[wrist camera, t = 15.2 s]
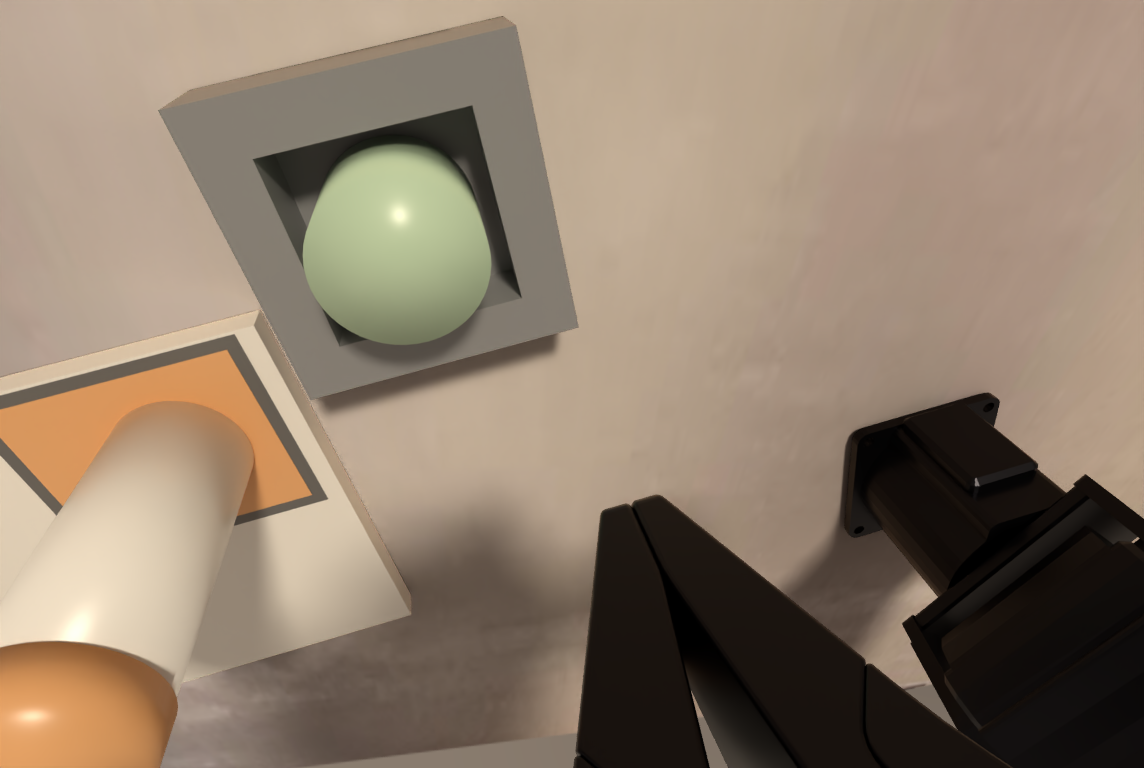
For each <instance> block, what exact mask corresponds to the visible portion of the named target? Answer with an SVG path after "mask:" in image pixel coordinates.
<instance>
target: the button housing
mask: <svg viewBox="0 0 1144 768" xmlns="http://www.w3.org/2000/svg"><path fill="white" fill-rule="evenodd" d="M158 111H159V113H160V115H161V117H162V119H163V121H164V123H165V125H166V126H167V128H168V130H169V132H170V134H171V136H172V138H173V140H174V142H175V144H176V145H177V147H178V149H179V151H180V153H181V155H182V157H183V159H184V161H185V163H186V164H187V166H188V168H189V170H190V172H191V174H192V176H193V178H194V180H195V182H196V183H197V185H198V187H199V189H200V191H201V193H202V195H203V197H204V199H205V201H206V202H207V204H208V206H209V208H210V210H211V212H212V214H213V216H214V218H215V220H216V221H217V223H218V225H219V227H220V229H221V231H222V233H223V235H224V237H225V239H226V240H227V242H228V244H229V246H230V248H231V250H232V252H233V254H234V256H235V258H236V259H237V261H238V263H239V265H240V267H241V269H242V271H243V273H244V275H245V277H246V278H247V280H248V282H249V284H250V286H251V288H252V290H253V292H254V294H255V296H256V297H257V299H258V301H259V303H260V305H261V307H262V309H263V311H264V313H265V315H266V316H267V318H268V320H269V322H270V324H271V326H272V328H273V330H274V332H275V334H276V335H277V337H278V339H279V341H280V343H281V345H282V347H283V349H284V351H285V353H286V354H287V356H288V358H289V360H290V362H291V364H292V366H293V368H294V370H295V372H296V373H297V375H298V377H299V379H300V381H301V383H302V385H303V387H304V389H305V390H306V392H307V394H308V396H309V398H310V400H313V399H317V398H320V397H324V396H328V395H331V394H335V393H339V392H342V391H346V390H350V389H353V388H357V387H361V386H365V385H368V384H372V383H376V382H379V381H383V380H387V379H390V378H394V377H398V376H401V375H405V374H409V373H412V372H416V371H420V370H423V369H427V368H431V367H434V366H438V365H442V364H446V363H449V362H453V361H457V360H460V359H464V358H468V357H471V356H475V355H479V354H482V353H486V352H490V351H493V350H497V349H501V348H504V347H508V346H512V345H515V344H519V343H523V342H527V341H530V340H534V339H538V338H541V337H545V336H549V335H552V334H556V333H560V332H563V331H567V330H571V329H574V328H578V322H577V317H576V312H575V307H574V303H573V298H572V293H571V288H570V283H569V278H568V274H567V269H566V264H565V259H564V254H563V249H562V245H561V240H560V235H559V230H558V225H557V220H556V216H555V211H554V206H553V201H552V196H551V191H550V187H549V182H548V177H547V172H546V167H545V162H544V158H543V153H542V148H541V143H540V138H539V133H538V129H537V124H536V119H535V114H534V109H533V104H532V100H531V95H530V90H529V85H528V80H527V75H526V71H525V66H524V61H523V56H522V51H521V46H520V42H519V37H518V32H517V27H516V25H515V24H514V23H512V22H511V21H509V20H508V19H506V18H505V17H503V16H501V17H497V18H492V19H488V20H484V21H480V22H475V23H471V24H467V25H463V26H459V27H454V28H450V29H446V30H442V31H437V32H433V33H429V34H425V35H420V36H416V37H412V38H408V39H404V40H399V41H395V42H391V43H387V44H382V45H378V46H374V47H370V48H366V49H361V50H357V51H353V52H349V53H344V54H340V55H336V56H332V57H327V58H323V59H319V60H315V61H311V62H306V63H302V64H298V65H294V66H289V67H285V68H281V69H277V70H272V71H268V72H264V73H260V74H256V75H251V76H247V77H243V78H239V79H234V80H230V81H226V82H222V83H218V84H213V85H209V86H205V87H201V88H196V89H192V90H189V91H187V92H186V93H184V94H183V95H181V96H180V97H178V98H177V99H175V100H173V101H172V102H170V103H169V104H167V105H166V106H164V107H163V108H161V109H160V110H158ZM384 135H402V136H409V137H414V138H418V139H421V140H423V141H426V142H428V143H430V144H432V145H434V146H436V147H438V148H439V149H441V150H442V151H444V152H445V153H447V154H448V155H449V156H450V157H451V158H452V159H453V160H455V162H456V163H457V164H458V165H459V166H460V167H461V168H462V170H463V171H464V173H465V174H466V176H467V178H468V180H469V182H470V184H471V186H472V188H473V191H474V194H475V197H476V201H477V204H478V208H479V211H480V215H481V218H482V222H483V226H484V229H485V233H486V236H487V240H488V244H489V249H490V253H491V274H490V280H489V284H488V287H487V290H486V293H485V295H484V297H483V299H482V301H481V303H480V305H479V306H478V308H477V309H476V310H475V312H474V313H473V314H472V315H471V316H470V317H469V318H468V319H467V321H465V322H464V323H463V324H462V325H461V326H459V327H458V328H457V329H455V330H453V331H452V332H450V333H449V334H446V335H444V336H442V337H440V338H438V339H435V340H432V341H429V342H424V343H419V344H411V345H393V344H385V343H380V342H376V341H372V340H369V339H366V338H363V337H361V336H359V335H357V334H355V333H353V332H351V331H349V330H347V329H346V328H344V327H343V326H341V325H340V324H339V323H337V322H336V321H335V320H334V319H333V318H331V317H330V316H329V315H328V314H327V312H326V311H325V310H324V309H323V308H322V307H321V305H320V304H319V303H318V301H317V300H316V298H315V297H314V295H313V293H312V291H311V289H310V287H309V284H308V282H307V279H306V275H305V271H304V266H303V243H304V239H305V235H306V231H307V228H308V225H309V222H310V220H311V217H312V214H313V211H314V208H315V206H316V203H317V200H318V197H319V194H320V191H321V189H322V186H323V183H324V180H325V178H326V175H327V173H328V172H329V170H330V168H331V166H332V165H333V164H334V163H335V161H336V160H337V159H338V158H339V157H340V156H341V155H342V154H343V153H344V152H345V151H346V150H348V149H349V148H351V147H352V146H354V145H356V144H358V143H360V142H362V141H364V140H367V139H370V138H373V137H378V136H384Z"/></svg>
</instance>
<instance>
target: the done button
mask: <svg viewBox="0 0 1144 768" xmlns="http://www.w3.org/2000/svg"><path fill="white" fill-rule="evenodd" d="M303 266H304V271H305V275H306V279H307V282H308V284H309V287H310V289H311V291H312V293H313V295H314V297H315V298H316V300H317V301H318V303H319V304H320V305H321V307H322V308H323V309H324V310H325V311H326V312H327V314H328V315H329V316H330V317H331V318H333V319H334V320H335V321H336V322H337V323H339V324H340V325H341V326H343V327H344V328H346V329H347V330H349V331H351V332H353V333H355V334H357V335H359V336H361V337H363V338H366V339H369V340H372V341H376V342H380V343H385V344H393V345H411V344H419V343H424V342H429V341H432V340H435V339H438V338H440V337H442V336H444V335H446V334H449V333H450V332H452V331H453V330H455V329H457V328H458V327H459V326H461V325H462V324H463V323H464V322H465V321H467V319H468V318H469V317H470V316H471V315H472V314H473V313H474V312H475V310H476V309H477V308H478V306H479V305H480V303H481V301H482V299H483V297H484V295H485V293H486V290H487V287H488V284H489V280H490V274H491V253H490V249H489V244H488V240H487V236H486V233H485V229H484V226H483V222H482V218H481V215H480V211H479V208H478V204H477V201H476V197H475V194H474V191H473V188H472V186H471V184H470V182H469V180H468V178H467V176H466V174H465V173H464V171H463V170H462V168H461V167H460V166H459V165H458V164H457V163H456V162H455V160H453V159H452V158H451V157H450V156H449V155H448V154H447V153H445V152H444V151H442V150H441V149H439V148H438V147H436V146H434V145H432V144H430V143H428V142H426V141H423V140H421V139H418V138H414V137H409V136H402V135H384V136H378V137H373V138H370V139H367V140H364V141H362V142H360V143H358V144H356V145H354V146H352V147H351V148H349V149H348V150H346V151H345V152H344V153H343V154H342V155H341V156H340V157H339V158H338V159H337V160H336V161H335V163H334V164H333V165H332V166H331V168H330V170H329V172H328V173H327V175H326V178H325V180H324V183H323V186H322V189H321V191H320V194H319V197H318V200H317V203H316V206H315V208H314V211H313V214H312V217H311V220H310V222H309V225H308V228H307V231H306V235H305V239H304V243H303Z"/></svg>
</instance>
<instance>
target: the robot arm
mask: <svg viewBox="0 0 1144 768" xmlns="http://www.w3.org/2000/svg"><path fill="white" fill-rule="evenodd" d="M999 403H1000V401H999V400H998V398H996V397H995V396H994V395H992V394H991V393H982V394H979V395H976V396H972V397H969V398H965V399H962V400H958V401H955V402H951V403H948V404H945V405H941V406H938V407H934V408H931V409H927V410H924V411H921V412H917V413H914V414H910V415H907V416H903V417H900V418H897V419H893V420H890V421H886V422H883V423H879V424H876V425H872V426H869V427H866V428H863V429H861V430H859V431H858V432H856V433H855V435H854V436H853V439H852V448H851V459H850V470H849V482H848V493H847V504H846V515H845V530H846V531H847V533H848V534H849V535H850V536H851V537H854V538H855V537H860V536H863V535H867V534H870V533H873V532H877V531H880V530H883V531H884V532H885V533H886V534H887V535H888V537H889V538H890V539H891V540H892V542H893V543H894V544H895V545H896V546H897V548H898V549H899V550H900V551H901V552H902V554H903V555H904V556H905V557H906V559H907V560H908V561H909V562H910V563H911V565H912V566H913V567H914V568H915V570H916V571H917V572H918V573H919V574H920V576H921V577H922V578H923V579H924V580H925V582H926V583H927V584H928V585H929V587H930V588H931V589H932V590H933V591H934V593H935V594H936V595H937V596H938V598H937V599H936V600H934V601H933V602H932V603H931V604H929V605H928V606H927V607H926V608H925V609H923V610H922V611H921V612H920V613H918V614H917V615H916V616H914V615H912V616H911V617H909V618H908V619H907V620H906V621H904V622H903V623H902V625H903V627H904V629H905V631H906V632H907V634H908V636H909V638H910V640H911V646H912V647H913V649H914V651H915V653H916V655H917V657H918V658H919V660H920V662H921V664H922V666H923V668H924V669H925V671H926V673H927V675H928V677H929V679H930V680H931V682H932V684H933V686H934V688H935V690H936V691H937V693H938V695H939V697H940V699H941V700H942V702H943V704H944V706H945V708H946V710H947V711H948V713H949V715H950V717H951V719H952V721H953V722H954V724H955V726H956V728H957V729H958V730H957V729H955V728H954V727H953V726H951V725H950V724H948V723H947V722H945V721H944V720H942V719H941V718H940V717H939V716H937V715H936V714H935V713H933V712H932V711H931V710H930V709H928V708H927V707H926V706H924V705H923V704H922V703H920V702H919V701H918V700H917V699H915V698H914V697H912V696H911V695H910V694H909V693H907V692H906V691H905V690H903V689H902V688H901V687H900V686H898V685H897V684H896V683H895V682H893V681H892V680H891V679H890V678H888V677H887V676H886V675H885V674H883V673H882V672H881V671H880V670H879V669H877V668H876V667H875V666H874V665H872V664H867V665H866V662H865V659H864V658H863V657H862V656H861V655H859V654H858V653H857V652H856V651H854V650H853V649H852V648H851V647H850V646H848V645H847V644H846V643H845V642H843V641H842V640H841V639H840V638H838V637H837V636H836V635H835V634H833V633H832V632H831V631H830V630H828V629H827V628H826V627H825V626H823V625H822V624H821V623H820V622H818V621H817V620H816V619H815V618H813V617H812V616H811V615H810V614H808V613H807V612H806V611H805V610H803V609H802V608H801V607H800V606H799V605H797V604H796V603H795V602H794V601H792V600H791V599H790V598H789V597H787V596H786V595H785V594H784V593H782V592H781V591H780V590H779V589H777V588H776V587H775V586H774V585H772V584H771V583H770V582H769V581H767V580H766V579H765V578H764V577H762V576H761V575H760V574H759V573H757V572H756V571H755V570H754V569H752V568H751V567H750V566H749V565H748V564H746V563H745V562H744V561H743V560H741V559H740V558H739V557H738V556H736V555H735V554H734V553H733V552H731V551H730V550H729V549H728V548H726V547H725V546H724V545H723V544H721V543H720V542H719V541H718V540H716V539H715V538H714V537H713V536H711V535H710V534H709V533H708V532H706V531H705V530H704V529H703V528H702V527H700V526H699V525H698V524H697V523H695V522H694V521H693V520H692V519H690V518H689V517H688V516H687V515H685V514H684V513H683V512H682V511H680V510H679V509H678V508H677V507H675V506H674V505H673V504H672V503H670V502H669V501H668V500H667V499H665V498H664V497H663V496H661V495H653V496H649V497H646V498H643V499H639V500H636V501H634V502H633V503H632V505H631V506H630V505H629V504H622V505H619V506H615V507H612V508H608V509H605V510H603V511H602V513H601V515H600V523H599V532H598V542H597V551H596V561H595V571H594V580H593V590H592V599H591V609H590V618H589V628H588V637H587V647H586V656H585V666H584V675H583V685H582V695H581V704H580V714H579V723H578V733H577V742H576V754H577V757H575V759H574V767H573V768H710V767H709V763H708V759H707V755H706V751H705V746H704V742H703V738H702V734H701V730H700V726H699V722H698V718H697V714H696V710H695V705H694V701H693V697H692V693H693V695H694V697H695V699H696V701H697V703H698V706H699V708H700V710H701V712H702V714H703V716H704V718H705V720H706V722H707V724H708V726H709V729H710V731H711V733H712V735H713V737H714V739H715V741H716V743H717V745H718V747H719V749H720V751H721V754H722V756H723V758H724V760H725V762H726V764H727V766H728V768H1144V519H1143V518H1142V517H1141V516H1139V515H1138V514H1137V513H1136V512H1134V511H1133V510H1132V509H1130V508H1129V507H1128V506H1126V505H1125V504H1124V503H1123V502H1121V501H1120V500H1119V499H1117V498H1116V497H1115V496H1113V495H1112V494H1111V493H1110V492H1108V491H1107V490H1106V489H1104V488H1103V487H1102V486H1100V485H1099V484H1098V483H1096V482H1095V481H1094V480H1093V479H1091V478H1090V477H1089V476H1087V475H1086V474H1085V475H1084V476H1082V477H1081V478H1080V479H1079V480H1077V481H1076V482H1075V483H1074V484H1073V485H1075V487H1073V488H1072V489H1071V490H1070V491H1069V492H1067V493H1066V492H1065V491H1063V490H1062V489H1061V488H1060V487H1059V486H1057V485H1056V484H1055V483H1054V482H1052V481H1051V480H1050V479H1049V478H1048V477H1046V476H1045V475H1044V474H1043V473H1042V472H1040V471H1039V470H1038V469H1037V468H1038V464H1037V462H1036V461H1035V460H1033V459H1032V458H1031V457H1030V456H1029V455H1027V454H1026V453H1025V452H1024V451H1022V450H1021V449H1020V448H1019V447H1017V446H1016V445H1015V444H1014V443H1013V442H1011V441H1010V440H1009V439H1008V438H1006V437H1005V436H1004V435H1003V434H1001V433H1000V432H999V431H998V430H997V429H995V428H994V424H995V420H996V416H997V412H998V408H999ZM1137 537H1139V538H1140V539H1139V540H1137V541H1136V542H1135V543H1132V541H1133V540H1134V539H1136V538H1137ZM865 665H866V667H865ZM691 691H692V693H691Z"/></svg>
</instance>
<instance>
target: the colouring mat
mask: <svg viewBox="0 0 1144 768" xmlns="http://www.w3.org/2000/svg"><path fill="white" fill-rule="evenodd" d="M162 401H182V402H189V403H195V404H199V405H202V406H206V407H208V408H211V409H213V410H215V411H218V412H220V413H222V414H223V415H225V416H226V417H228V418H230V419H231V420H232V421H233V422H235V423H236V424H237V425H238V426H239V427H240V428H241V429H242V430H243V432H244V433H245V434H246V436H247V437H248V439H249V441H250V443H251V446H252V448H253V453H254V463H253V468H252V471H251V474H250V477H249V480H248V484H247V487H246V490H245V493H244V496H243V499H242V502H241V505H240V508H239V511H238V514H237V517H236V520H235V523H234V526H233V529H232V532H231V535H230V538H229V541H228V544H227V547H226V550H225V554H224V557H223V560H222V563H221V566H220V569H219V572H218V575H217V578H216V581H215V584H214V587H213V590H212V593H211V596H210V599H209V602H208V605H207V608H206V611H205V614H204V617H203V620H202V624H201V627H200V630H199V633H198V636H197V639H196V642H195V645H194V648H193V651H192V654H191V657H190V660H189V663H188V666H187V669H186V672H185V675H184V678H183V681H182V683H184V682H187V681H190V680H194V679H197V678H201V677H204V676H207V675H211V674H214V673H217V672H221V671H224V670H228V669H231V668H234V667H238V666H241V665H244V664H248V663H251V662H254V661H258V660H261V659H265V658H268V657H271V656H275V655H278V654H281V653H285V652H288V651H292V650H295V649H298V648H302V647H305V646H308V645H312V644H315V643H318V642H322V641H325V640H329V639H332V638H335V637H339V636H342V635H345V634H349V633H352V632H356V631H359V630H362V629H366V628H369V627H372V626H376V625H379V624H382V623H386V622H389V621H393V620H396V619H399V618H403V617H406V616H409V615H411V594H410V592H409V590H408V588H407V587H406V585H405V583H404V581H403V579H402V577H401V575H400V573H399V571H398V570H397V568H396V566H395V564H394V562H393V560H392V558H391V556H390V554H389V553H388V551H387V549H386V547H385V545H384V543H383V541H382V539H381V537H380V536H379V534H378V532H377V530H376V528H375V526H374V524H373V522H372V520H371V519H370V517H369V515H368V513H367V511H366V509H365V507H364V505H363V503H362V502H361V500H360V498H359V496H358V494H357V492H356V490H355V488H354V486H353V485H352V483H351V481H350V479H349V477H348V475H347V473H346V471H345V469H344V468H343V466H342V464H341V462H340V460H339V458H338V456H337V454H336V452H335V451H334V449H333V447H332V445H331V443H330V441H329V439H328V437H327V435H326V434H325V432H324V430H323V428H322V426H321V424H320V422H319V420H318V418H317V417H316V415H315V413H314V411H313V409H312V407H311V405H310V403H309V401H308V400H307V398H306V396H305V394H304V392H303V390H302V388H301V386H300V384H299V383H298V381H297V379H296V377H295V375H294V373H293V371H292V369H291V367H290V366H289V364H288V362H287V360H286V358H285V356H284V354H283V352H282V350H281V349H280V347H279V345H278V343H277V341H276V339H275V337H274V335H273V333H272V332H271V330H270V328H269V326H268V324H267V322H266V320H265V318H264V316H263V315H262V313H261V311H260V310H257V311H254V312H250V313H246V314H242V315H238V316H234V317H231V318H227V319H223V320H219V321H215V322H211V323H208V324H204V325H200V326H196V327H192V328H188V329H185V330H181V331H177V332H173V333H169V334H165V335H162V336H158V337H154V338H150V339H146V340H142V341H139V342H135V343H131V344H127V345H123V346H119V347H116V348H112V349H108V350H104V351H100V352H96V353H93V354H89V355H85V356H81V357H77V358H73V359H70V360H66V361H62V362H58V363H54V364H50V365H47V366H43V367H39V368H35V369H31V370H27V371H24V372H20V373H16V374H12V375H8V376H4V377H1V378H0V602H1V601H2V599H3V597H4V596H5V594H6V593H7V591H8V590H9V588H10V587H11V585H12V584H13V582H14V581H15V579H16V578H17V576H18V574H19V573H20V571H21V570H22V568H23V567H24V565H25V564H26V562H27V561H28V559H29V558H30V556H31V555H32V553H33V551H34V550H35V548H36V547H37V545H38V544H39V542H40V541H41V539H42V538H43V536H44V535H45V533H46V532H47V530H48V528H49V527H50V525H51V524H52V522H53V521H54V519H55V518H56V516H57V515H58V513H59V512H60V510H61V508H62V507H63V505H64V504H65V502H66V501H67V499H68V498H69V496H70V495H71V493H72V492H73V490H74V489H75V487H76V485H77V484H78V482H79V481H80V479H81V478H82V476H83V475H84V473H85V472H86V470H87V469H88V467H89V466H90V464H91V462H92V461H93V459H94V458H95V456H96V455H97V453H98V452H99V450H100V449H101V447H102V446H103V444H104V443H105V441H106V439H107V438H108V436H109V435H110V433H111V432H112V430H113V429H114V427H115V426H116V424H117V423H118V422H119V420H120V419H122V418H123V417H124V416H125V415H126V414H128V413H129V412H130V411H132V410H134V409H136V408H138V407H141V406H143V405H146V404H150V403H155V402H162Z"/></svg>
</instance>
